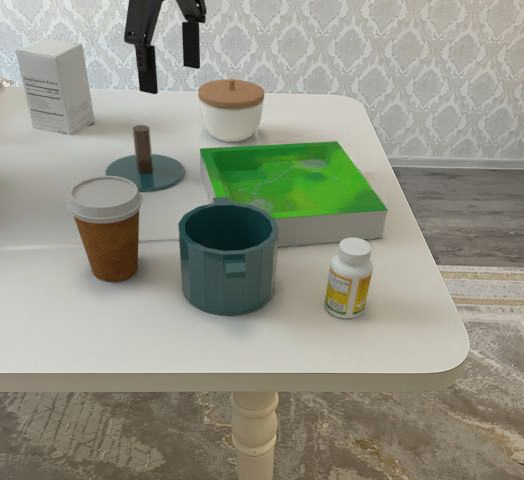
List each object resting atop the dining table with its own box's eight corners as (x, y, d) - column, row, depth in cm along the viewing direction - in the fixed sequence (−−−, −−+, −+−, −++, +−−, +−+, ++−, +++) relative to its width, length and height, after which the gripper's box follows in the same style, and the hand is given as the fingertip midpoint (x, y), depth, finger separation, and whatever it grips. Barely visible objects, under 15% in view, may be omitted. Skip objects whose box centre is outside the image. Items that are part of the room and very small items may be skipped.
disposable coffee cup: (120, 297, 79) (108, 217, 71) (65, 275, 82) (48, 196, 74) (163, 263, 85) (156, 186, 77) (110, 243, 88) (99, 167, 80)
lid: (104, 196, 99) (97, 146, 93) (107, 160, 108) (101, 113, 103) (186, 193, 101) (184, 144, 95) (182, 158, 110) (179, 112, 105)
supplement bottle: (327, 320, 77) (337, 258, 70) (321, 295, 81) (329, 234, 74) (368, 319, 77) (381, 257, 71) (360, 294, 81) (371, 234, 75)
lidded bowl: (189, 143, 115) (187, 85, 108) (213, 120, 124) (212, 65, 117) (250, 155, 113) (252, 95, 105) (270, 130, 122) (273, 74, 114)
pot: (185, 332, 74) (182, 269, 68) (179, 252, 87) (175, 194, 81) (284, 325, 76) (290, 264, 69) (263, 248, 89) (266, 191, 82)
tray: (381, 238, 92) (387, 209, 89) (224, 251, 88) (224, 222, 84) (333, 167, 110) (337, 141, 107) (200, 175, 106) (199, 148, 102)
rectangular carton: (58, 114, 123) (43, 36, 113) (95, 122, 121) (84, 42, 111) (31, 130, 117) (13, 48, 107) (71, 138, 115) (56, 56, 105)
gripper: (136, -75, 69) (150, 109, 83) (228, -94, 86) (227, 61, 101) (82, -82, 71) (105, 99, 85) (182, -99, 88) (188, 54, 103)
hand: (171, 79), depth 93 cm, fingers open, 13 cm apart
